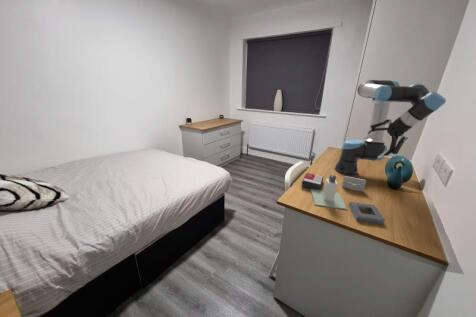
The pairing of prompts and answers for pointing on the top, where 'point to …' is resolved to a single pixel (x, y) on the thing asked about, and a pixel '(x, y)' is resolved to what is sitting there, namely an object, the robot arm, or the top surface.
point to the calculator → (312, 181)
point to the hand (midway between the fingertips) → (371, 148)
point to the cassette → (358, 186)
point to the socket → (359, 216)
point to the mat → (321, 202)
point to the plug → (330, 188)
